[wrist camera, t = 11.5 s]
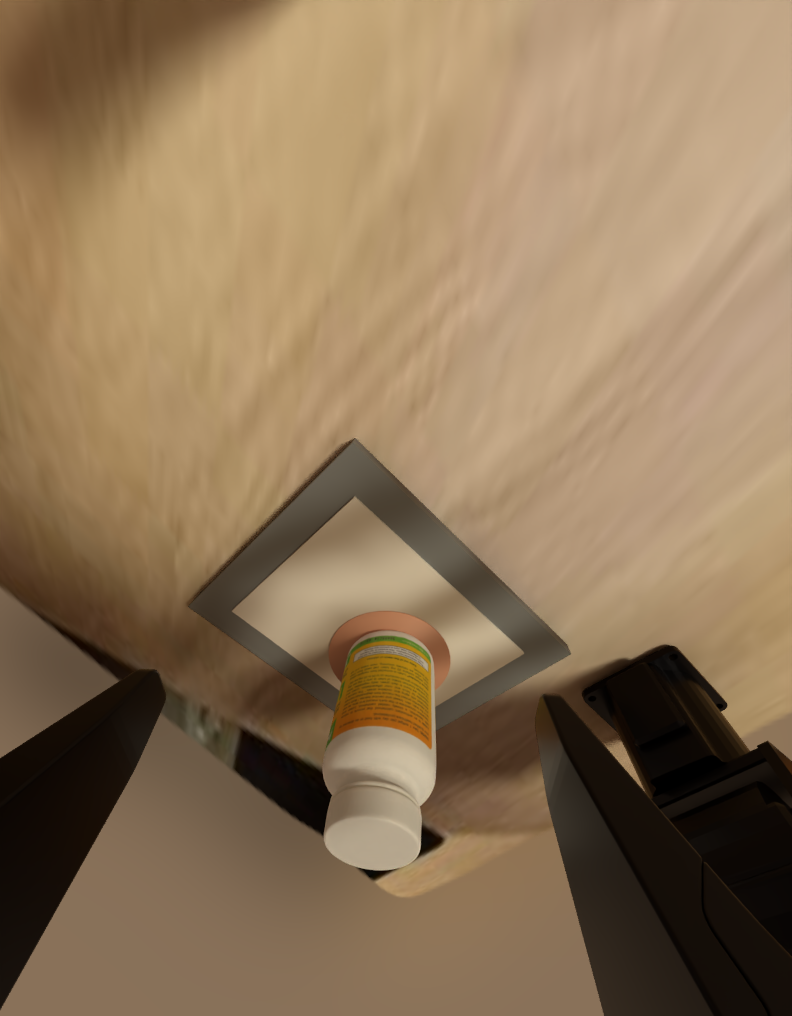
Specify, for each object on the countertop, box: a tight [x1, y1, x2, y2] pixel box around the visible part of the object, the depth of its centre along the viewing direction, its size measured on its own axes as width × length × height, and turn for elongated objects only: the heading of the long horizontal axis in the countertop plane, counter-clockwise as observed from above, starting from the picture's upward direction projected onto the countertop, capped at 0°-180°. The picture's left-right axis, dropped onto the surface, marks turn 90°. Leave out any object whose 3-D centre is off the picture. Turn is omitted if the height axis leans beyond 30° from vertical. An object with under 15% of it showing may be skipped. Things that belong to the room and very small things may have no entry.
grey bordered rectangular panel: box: [188, 438, 571, 731], centre depth 25 cm, size 18×15×1 cm
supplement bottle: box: [323, 630, 436, 870], centre depth 21 cm, size 5×5×10 cm
